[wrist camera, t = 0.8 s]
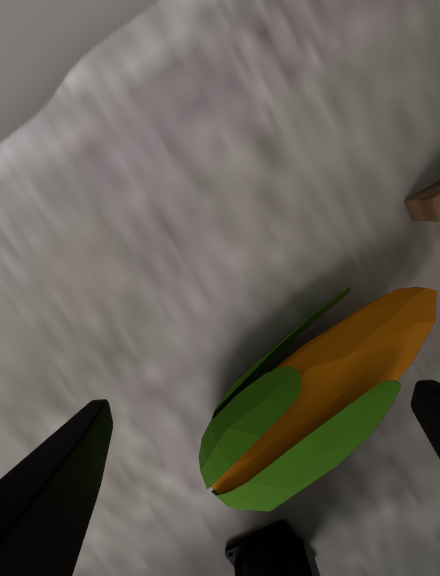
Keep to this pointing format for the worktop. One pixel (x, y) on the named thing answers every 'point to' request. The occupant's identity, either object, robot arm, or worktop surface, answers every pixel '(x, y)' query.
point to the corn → (312, 401)
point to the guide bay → (425, 204)
